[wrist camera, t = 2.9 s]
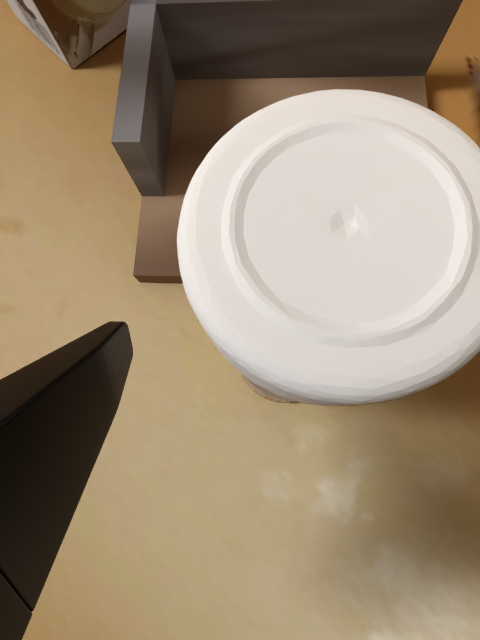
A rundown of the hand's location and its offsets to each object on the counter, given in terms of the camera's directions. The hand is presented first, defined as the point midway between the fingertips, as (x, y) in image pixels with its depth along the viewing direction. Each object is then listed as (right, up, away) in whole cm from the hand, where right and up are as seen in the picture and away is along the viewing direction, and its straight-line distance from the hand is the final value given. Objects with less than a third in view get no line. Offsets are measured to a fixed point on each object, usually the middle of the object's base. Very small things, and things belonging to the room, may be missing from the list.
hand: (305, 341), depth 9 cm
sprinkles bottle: (0, -1, +9) cm, 9 cm away
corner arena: (+1, +9, +11) cm, 14 cm away
